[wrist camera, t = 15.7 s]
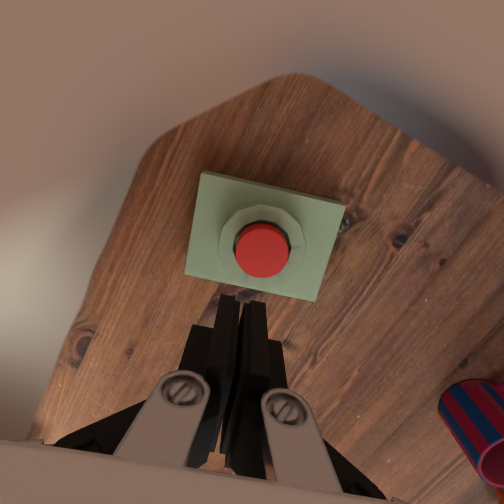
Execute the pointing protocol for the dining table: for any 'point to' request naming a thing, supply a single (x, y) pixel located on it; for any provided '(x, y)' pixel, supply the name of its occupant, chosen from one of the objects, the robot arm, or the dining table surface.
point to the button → (262, 250)
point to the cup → (478, 425)
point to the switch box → (261, 211)
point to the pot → (500, 495)
